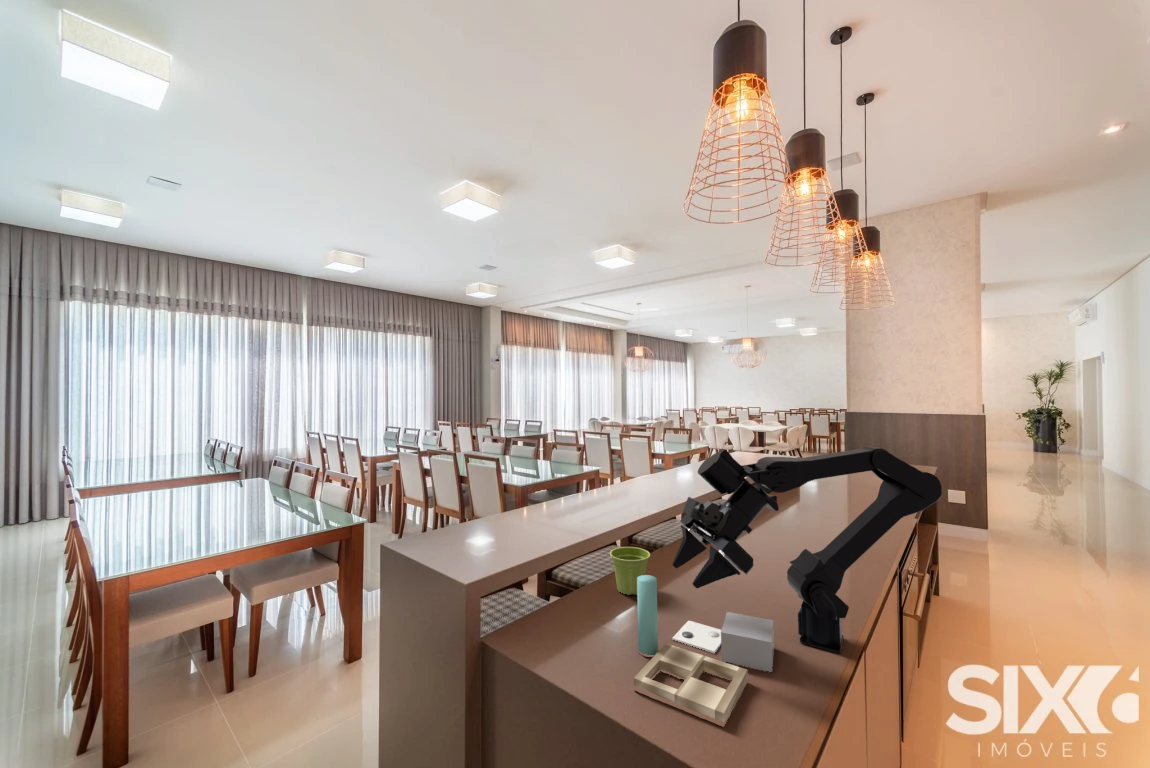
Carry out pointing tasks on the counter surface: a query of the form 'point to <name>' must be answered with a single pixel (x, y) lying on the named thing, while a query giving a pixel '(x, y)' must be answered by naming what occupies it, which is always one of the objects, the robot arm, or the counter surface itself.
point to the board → (694, 681)
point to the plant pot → (629, 567)
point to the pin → (647, 614)
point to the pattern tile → (699, 636)
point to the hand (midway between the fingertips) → (683, 575)
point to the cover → (748, 641)
